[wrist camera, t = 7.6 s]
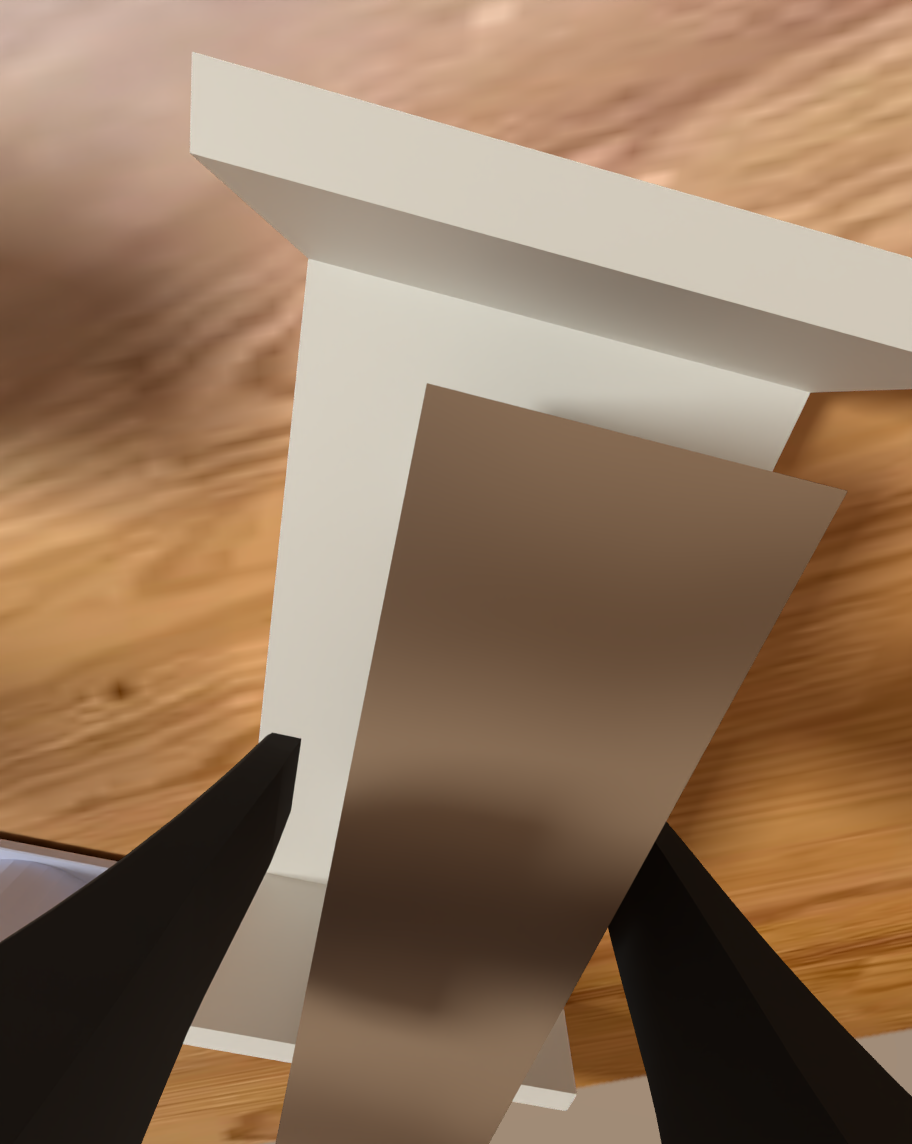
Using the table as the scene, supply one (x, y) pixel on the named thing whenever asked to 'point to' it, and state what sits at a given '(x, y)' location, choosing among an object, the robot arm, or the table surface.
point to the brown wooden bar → (522, 746)
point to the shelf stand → (490, 370)
